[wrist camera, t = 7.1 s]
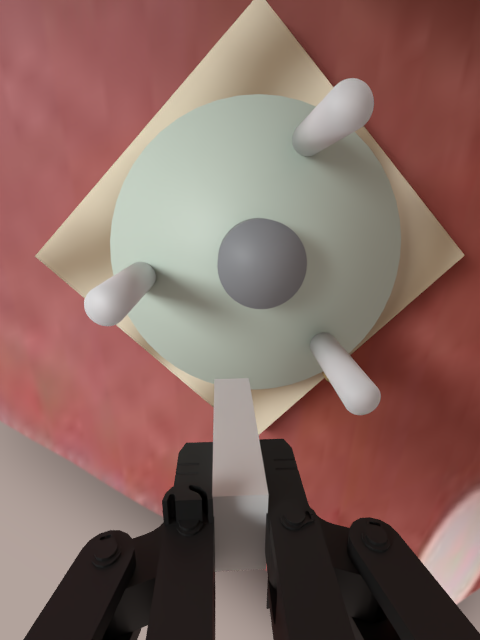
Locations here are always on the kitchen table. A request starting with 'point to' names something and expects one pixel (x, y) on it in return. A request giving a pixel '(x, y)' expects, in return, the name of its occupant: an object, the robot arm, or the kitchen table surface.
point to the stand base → (219, 83)
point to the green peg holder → (257, 242)
